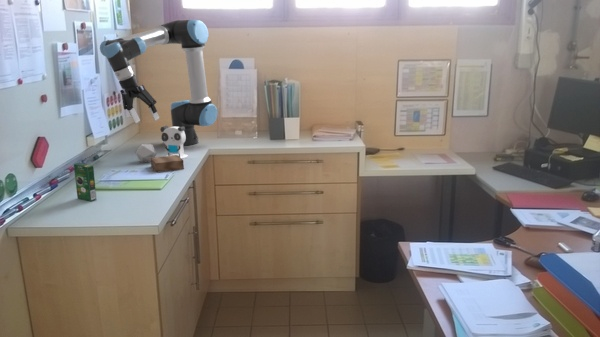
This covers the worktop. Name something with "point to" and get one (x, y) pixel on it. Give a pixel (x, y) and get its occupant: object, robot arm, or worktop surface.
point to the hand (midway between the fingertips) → (147, 120)
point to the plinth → (167, 163)
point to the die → (146, 152)
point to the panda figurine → (174, 140)
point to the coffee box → (85, 181)
